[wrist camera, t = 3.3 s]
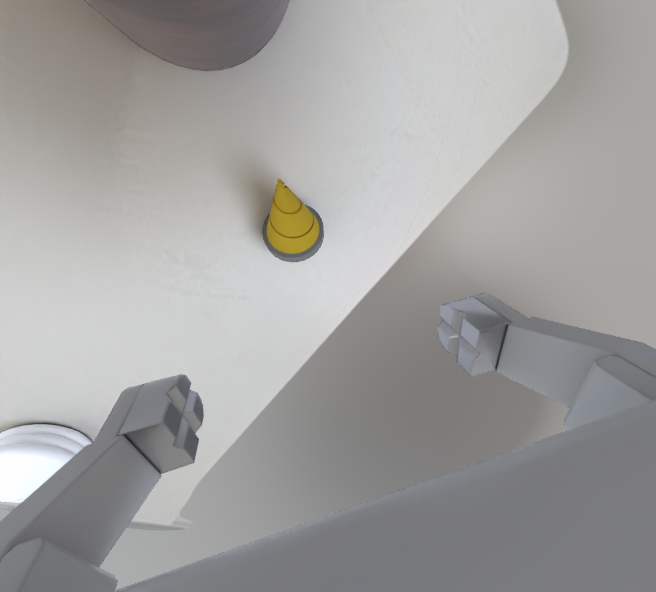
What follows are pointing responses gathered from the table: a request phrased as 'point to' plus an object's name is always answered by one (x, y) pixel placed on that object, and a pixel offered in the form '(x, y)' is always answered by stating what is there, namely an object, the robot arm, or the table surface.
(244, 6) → the stand
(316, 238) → the yellow tiered cone
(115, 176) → the table surface
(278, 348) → the table surface
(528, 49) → the table surface
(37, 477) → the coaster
